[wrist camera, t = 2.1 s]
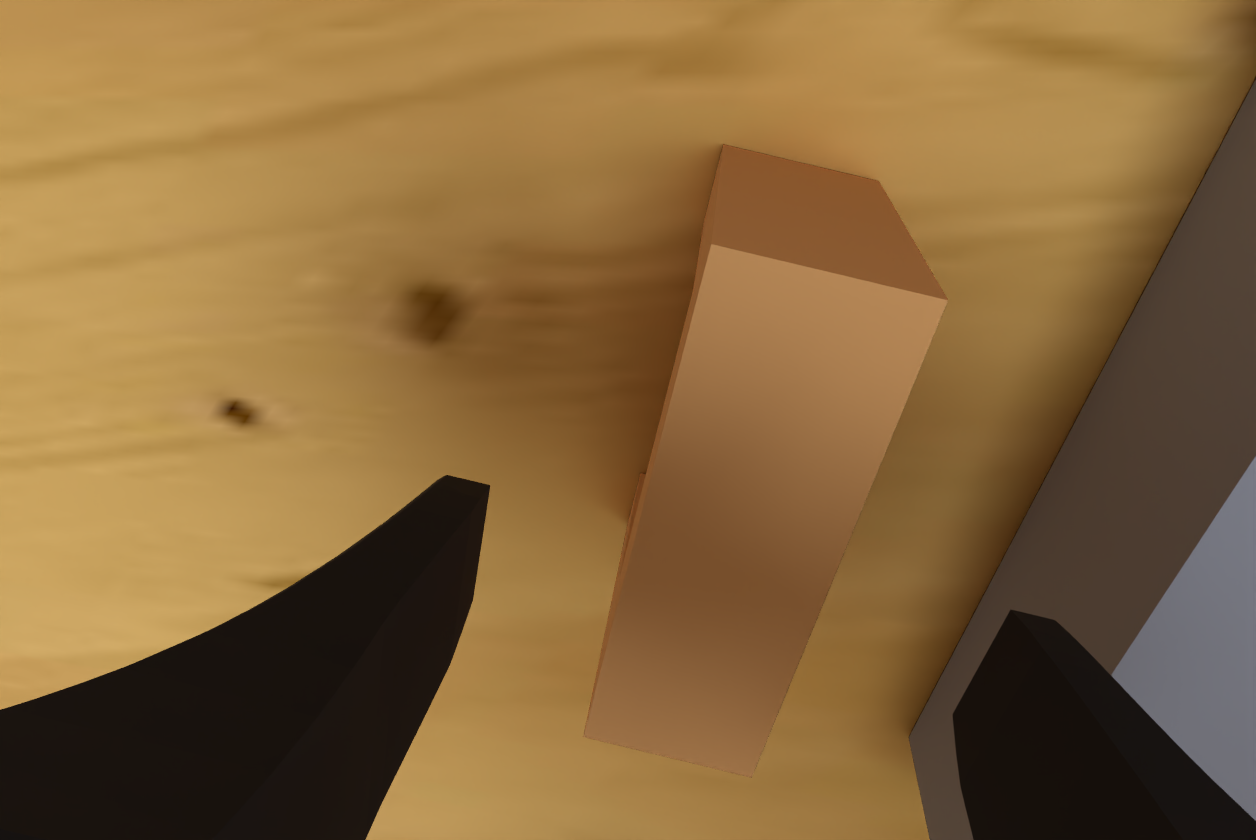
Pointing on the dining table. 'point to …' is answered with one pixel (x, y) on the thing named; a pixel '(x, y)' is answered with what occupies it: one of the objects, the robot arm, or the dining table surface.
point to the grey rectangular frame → (1149, 510)
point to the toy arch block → (760, 455)
